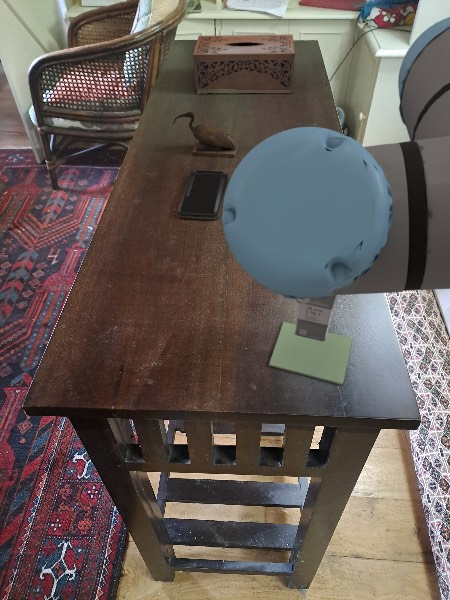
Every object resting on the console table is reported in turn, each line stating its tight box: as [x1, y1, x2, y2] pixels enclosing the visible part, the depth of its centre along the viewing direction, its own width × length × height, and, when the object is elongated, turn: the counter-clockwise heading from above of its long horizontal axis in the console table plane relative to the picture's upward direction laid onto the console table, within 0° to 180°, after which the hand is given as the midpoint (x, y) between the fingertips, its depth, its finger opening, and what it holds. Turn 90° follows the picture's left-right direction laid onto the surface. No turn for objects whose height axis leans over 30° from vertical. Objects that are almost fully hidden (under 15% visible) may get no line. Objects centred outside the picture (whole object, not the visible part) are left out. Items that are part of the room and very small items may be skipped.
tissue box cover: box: [192, 33, 296, 91], centre depth 124 cm, size 26×14×10 cm, turn 87°
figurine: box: [172, 111, 239, 159], centre depth 100 cm, size 14×4×9 cm, turn 80°
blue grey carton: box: [295, 295, 338, 341], centre depth 53 cm, size 9×4×12 cm, turn 160°
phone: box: [177, 169, 229, 221], centre depth 90 cm, size 8×1×15 cm
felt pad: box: [268, 321, 353, 386], centre depth 64 cm, size 10×8×1 cm
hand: (328, 266), depth 57 cm, fingers closed on blue grey carton, 4 cm apart
